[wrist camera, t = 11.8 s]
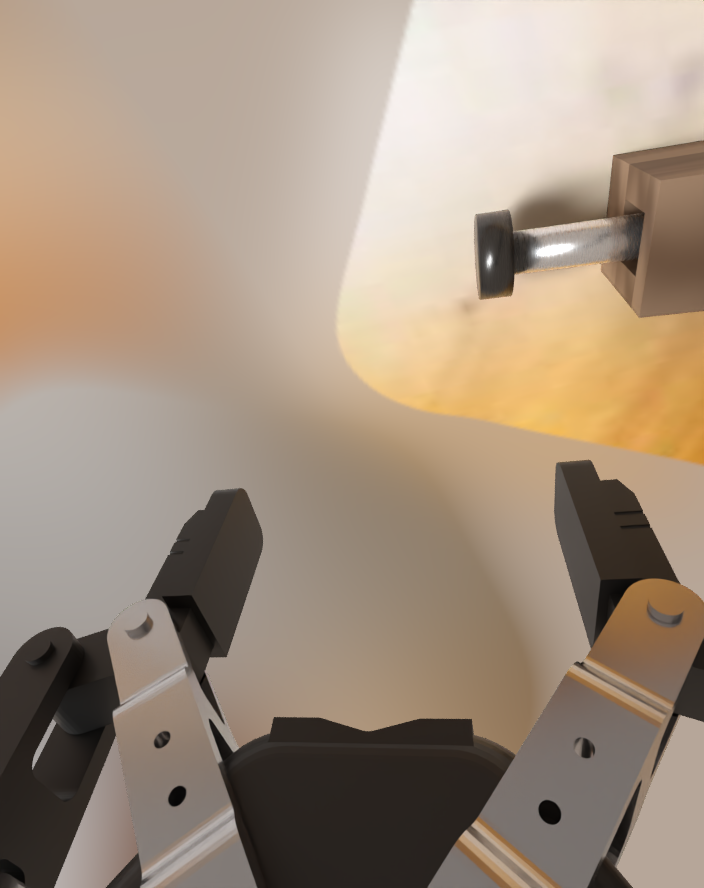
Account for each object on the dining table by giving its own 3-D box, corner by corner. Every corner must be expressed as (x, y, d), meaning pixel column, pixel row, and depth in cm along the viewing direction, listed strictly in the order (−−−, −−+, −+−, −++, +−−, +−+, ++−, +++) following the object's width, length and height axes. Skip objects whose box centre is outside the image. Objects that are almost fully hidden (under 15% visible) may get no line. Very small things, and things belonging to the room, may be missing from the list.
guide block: (613, 155, 26) (660, 180, 21) (724, 137, 25) (804, 158, 20) (600, 270, 29) (639, 317, 24) (699, 258, 28) (761, 304, 23)
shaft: (473, 206, 26) (479, 226, 23) (680, 173, 24) (718, 191, 21) (475, 283, 28) (482, 312, 25) (665, 259, 27) (697, 287, 23)
